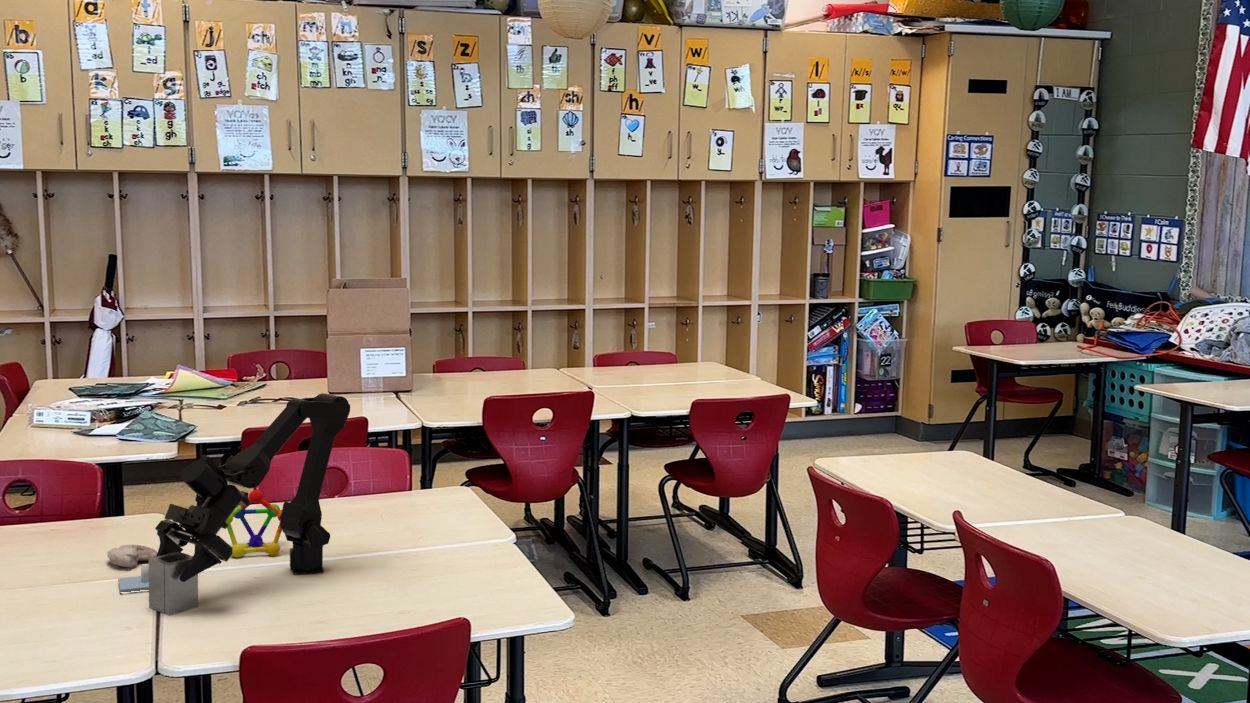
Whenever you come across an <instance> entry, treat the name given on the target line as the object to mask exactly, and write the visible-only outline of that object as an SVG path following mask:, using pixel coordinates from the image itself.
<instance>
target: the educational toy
mask: <svg viewBox="0 0 1250 703" xmlns="http://www.w3.org/2000/svg"><path fill="white" fill-rule="evenodd" d="M263 496H264V495H263V493H262V492H261V490H258V489H253V490H252V491H250V492H249V493H248V498H249V503H250V505H252V504H254V505H255V504H260V505H262V506H263V507H264V508H253V509H252V508H250V509H247V508H248V507H249V506H245V505H242V504H238V506H237V507H236V508H235V510H234V511H233V512H232V514H231V515H230V517H229V518H228V519H227V521H226V523H227V524H228V527H227V528H226V530H227V532H228V535H229V538H230V540H231V545H232V546H231V547H232V548H233V554H232V556H231V557H233V558H240V557H242V556H243V555H244V554H245V553H261V552H265V553H267V555H269V556H271V557H275V556H277V555H278V554H280V552H281V547H280V544H279V540H280V537H281V534H282V532H283V531H282V529H281V528H280V523H281V520H279V517H280V516H281V513H282V509H281V508H280V506H279V505H278V504H275V503H273V504H271V503H270V502H268V501H267V500H265V499H264V498H263ZM253 514H257V515H259V514H267V517H266V519H265V520H264V522H263V524H262V525H261V527H260V529H259V531H258V532H257V534H255V533H254V531H253V529H252V528H251V526H250V524H249V522H248V520H247V519H246V518H245V516H246V515H253ZM234 518H235V519H236V520H240V521H241V523H242V525H243V526H244V528H245V530H246V531H247V532H246V533H248V534H249V540H248V542H247V543H245V544H243V545H242V544H241V543H238V541H237V538H236V536H235V533H234V529H233V526H232V522H233V521H234ZM272 518H277V519H278V521H279V523H278V527H277V529H276V533H275V534H274V535H275V536H274V538H273V541H272V542H269V543H266V542H264V540H263V537H262V536H263V535H264V532H265V531H266V530H267V527H268V525H269V523H270V522H271V520H272Z"/></svg>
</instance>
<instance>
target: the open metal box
mask: <svg viewBox="0 0 1250 703" xmlns="http://www.w3.org/2000/svg"><path fill="white" fill-rule="evenodd" d="M193 556H194V555H191V554H187V553H184V552H182V551H181V552H174V553H170V554H165V555H161V556H157V557H153V558H149V560H148V564H149V592H148V608H149V609H152V610H153V611H156V612H159V613H162V614H165V615H167V616H170V615H175V614H179V613H182V612H185V611H190V610H192V609H196V608H199V574H197V575H195V576H194V577H192V578H190V579H188V580H187V581H185V582H182V581H180V580H179V578H180V576H181V575H182V573H183V571H184V570H185V568H186V566H187V565H188V563H189V562H190V560H191V559H192V557H193Z"/></svg>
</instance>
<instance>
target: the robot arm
mask: <svg viewBox="0 0 1250 703" xmlns="http://www.w3.org/2000/svg"><path fill="white" fill-rule="evenodd" d="M350 412H351V404H349V400H348V399H347V398H346V397H344V396H341V395H335V394H330V393H329V394H328V393H320V394H317V395H316V396H314V397H303V398H297V397H296V398H291V399H289V401H287V403H286V405H285V408H283V410H282V411H281V412H280V414H278V416H277V417H276V418H275V419H274V421H272V423H271V424H270V425H269V426H268V427H267V428H266V429H265V431H264V432H263V433H262V434H260V436H259V437H258V439H257V440H256V441H255V442H253V444H251V445H249V447H247V448H245V449H242V450H240V451H238V453H236V454H235V455H234V456H233V457H232V458H230V459H229V460H228V461H227V463H225V464H223V465H219V466H218V465H217V463H216V462H215V461H214V460H213V459H212V457H210V456H208V455H205V454H203V455H202V456H201V457H200V458H199V459H196V460H194V461H193V462H191V463H189V464H188V465H186V466H185V468H184V469H183V470H182V472H181V474H180V475H181V476H180V479H181V481H182V483H183V484H185V485H186V486H187V487H188V488H190V490H192V491H193V492H194V493H195V494H196V495H197V496H198V497H200V498H201V499H205V501H204V503H203V504H202V505H198V504H197V505H193V504H190V506H189V507H188V508H187V507H184V506H180V505H177V504H173V503H169V505H168V509H167V511H166V514H165V516H164V519H163V520H160V521H159V522H158V524H157V525H156V527H155V528H154V529H155V530H156V531H157V532H156V535H157V536H158V538H159V546H158V550H157V552H158V553H157V556H161V555H165V554H170V553H174V552H181V553H182V551H184V549H183V548H182V547H185V546H187V545H188V544H192V545H194V552H193V553H194V554H193V555H192V556H193V557H192V559H191V560H190V562H189V563H188V565H187V566H186V568H185V570H184V571H183V573H182V575H181V576H180V578H179V580H180V581H182V582H185V581H187V580H188V579H190V578H192V577H194V576H195V575H197V574H198V575H199V574H200V573H202V572H204V571H206V570H209V569H210V568H212V567H214V566H216V565H220V564H221V563H222V562H226V563H227V562H228V561H229V560H230V559H231V557H233V556H232V554H233V548H232V546H231V545H230V544H229V543H227V541H226V540H224V539H223V538H222V537H221V536H220V535H218V533H219V532H220V530H221V529H225V530H227V527H228V524H227V523H226V521H227V519H228V518H229V517H230V515H231V514H232V512H233V511H234V510H235V508H236V507H237V506H238V505H241V504H242V505H245V506H248V507H249V506H250V505H251V504H250V503H249V492H248V491H244V490H240V489H239V488H238V487H237V486H239V487H243V488H246V489H256V488H258V487H259V486H260V485H261V484H262V483H263V481H264V479H265V478H266V476H267V475H268V474H269V472H270V469H271V463H272V461H273V458H275V456H276V454H277V453H279V451H280V450H281V449H282V448H283V446H284V445H285V444H286V443H287V441H289V439H290V438H291V437H292V436H293V435H294V433H295V432H297V430H298V429H299V428H300V427H301V426H302V425H303V423H304V422H305V421H306V420H307V419H308V420H309V423H310V427H311V437H310V441H309V444H308V448H307V452H306V455H305V456H306V457H305V460H304V464H303V468H302V470H301V475H300V479H299V482H298V486H297V491H296V494H295V496H294V498H292V499H291V500H290V501H284V502H283V504H282V509H281V510H282V513H281V516H280V517H279V520H281V523H280V522H279V523H280V528H281V529H282V531H281V532H283V533H284V537H285V539H286V541H287V542H292V547H290V548H289V568H290V570H291V571H292V574H293V575H302V574H303V575H304V574H305V575H306V574H318V573H319V574H321V573H324V572H325V570H324V567H323V565H324V563H323V560H324V557H323V555H324V554H323V553H324V552H323V550H324V549H323V548H324V546H326V545H328V544H329V542H330V539H331V533H330V532H329V531H327V529H326V528H325V527H323V526H322V525H321V524H322V516H323V513H322V508H321V505H320V496H321V493H322V492H321V491H322V488H323V486H324V485H323V484H324V480H325V477H326V473H327V469H328V466H329V465H328V464H329V460H330V457H331V454H332V450H333V445H334V442H335V438H336V437H337V435H338V434H339V433H340V431H342V429H343V428H345V426H346V423H347V420H348V418H349V415H350ZM226 481H227V482H228V483H229V484H228V483H227V482H226ZM279 520H278V521H279ZM157 556H156V557H157Z"/></svg>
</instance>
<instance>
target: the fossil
mask: <svg viewBox="0 0 1250 703" xmlns="http://www.w3.org/2000/svg"><path fill="white" fill-rule="evenodd" d="M106 553H107V557H108V559H109V561H110V564H113V565H115V566H119V567H123V568H132V569H133V568H136V567H137V566H138V564H139V562H145V561H146V562H147V561H148V562H149V558H153V557H156V556H157V553H158V550H156V549H155V548H151V547H148V546H145V545H141V544H140V545H139V544H123V545H120V546H119V547H113V548H112V549H110V550H108V551H107V552H106Z"/></svg>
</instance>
